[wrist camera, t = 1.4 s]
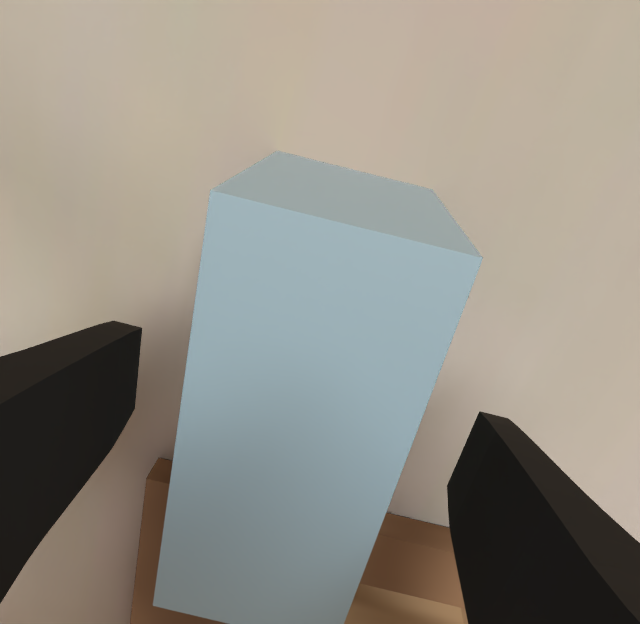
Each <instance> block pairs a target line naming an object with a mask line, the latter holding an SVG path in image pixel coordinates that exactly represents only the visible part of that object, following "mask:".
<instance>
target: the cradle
mask: <svg viewBox="0 0 640 624" xmlns="http://www.w3.org/2000/svg"><path fill="white" fill-rule="evenodd" d="M172 463H173V461H170V460H166V459H162V458H158V460H157V461H156V463H155V465H154V467H153V468H152V470H151V472H150V473H149V475H148V477H147V479H146V487H145V496H144V505H143V514H142V523H141V532H140V540H139V549H138V558H137V567H136V576H135V584H134V593H133V602H132V611H131V620H130V624H228V623H224V622H219V621H215V620H211V619H207V618H203V617H198V616H194V615H190V614H186V613H181V612H177V611H173V610H169V609H165V608H160V607H156V606H153V600H154V593H155V586H156V578H157V571H158V564H159V557H160V550H161V542H162V535H163V528H164V521H165V514H166V506H167V499H168V492H169V485H170V478H171V470H172ZM344 624H468V620H467V615H466V610H465V605H464V600H463V595H462V590H461V585H460V580H459V576H458V571H457V566H456V560H455V555H454V550H453V545H452V540H451V534H450V528H448V527H443V526H439V525H435V524H431V523H427V522H423V521H419V520H414V519H410V518H406V517H402V516H398V515H394V514H390V513H386V514H385V517H384V520H383V522H382V525H381V527H380V530H379V533H378V535H377V538H376V541H375V543H374V546H373V549H372V551H371V554H370V556H369V559H368V562H367V564H366V567H365V570H364V572H363V575H362V578H361V580H360V583H359V585H358V588H357V591H356V593H355V596H354V599H353V601H352V604H351V606H350V609H349V612H348V614H347V617H346V620H345V622H344Z"/></svg>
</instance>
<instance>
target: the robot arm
mask: <svg viewBox="0 0 640 624" xmlns="http://www.w3.org/2000/svg"><path fill="white" fill-rule="evenodd" d="M141 334H142V328H141V327H136V326H132V325H128V324H124V323H120V322H116V321H111V322H106V323H103V324H99V325H96V326H93V327H90V328H87V329H84V330H81V331H78V332H75V333H72V334H69V335H66V336H63V337H60V338H57V339H54V340H51V341H48V342H45V343H42V344H39V345H37V346H34V347H31V348H28V349H25V350H21V351H18V352H15V353H11V354H8V355H5V356H1V357H0V603H1V602H2V600H3V598H4V597H5V595H6V594H7V592H8V590H9V589H10V587H11V586H12V584H13V582H14V581H15V579H16V578H17V576H18V575H19V573H20V571H21V570H22V568H23V567H24V565H25V563H26V562H27V560H28V559H29V557H30V556H31V555H32V553H33V552H34V550H35V549H36V548H37V546H38V545H39V543H40V542H41V541H42V539H43V538H44V536H45V535H46V534H47V533H48V531H49V530H50V529H51V527H52V526H53V525H54V524H55V522H56V521H57V520H58V518H59V517H60V516H61V514H62V513H63V512H64V511H65V509H66V508H67V507H68V505H69V504H70V503H71V501H72V500H73V499H74V498H75V496H76V495H77V494H78V492H79V491H80V490H81V489H82V487H83V486H84V485H85V483H86V482H87V481H88V479H89V478H90V477H91V475H92V474H93V473H94V472H95V470H96V469H97V468H98V466H99V465H100V464H101V462H102V461H103V460H104V458H105V457H106V456H107V454H108V453H109V452H110V450H111V449H112V447H113V446H114V444H115V442H116V441H117V439H118V437H119V436H120V434H121V432H122V430H123V429H124V427H125V425H126V423H127V421H128V420H129V418H130V416H131V414H132V412H133V411H134V409H135V399H136V388H137V378H138V367H139V356H140V345H141ZM447 491H448V512H449V525H450V534H451V540H452V545H453V550H454V555H455V560H456V566H457V571H458V576H459V580H460V585H461V590H462V595H463V600H464V605H465V610H466V615H467V620H468V624H640V543H639V542H638V541H637V540H635V539H634V538H633V537H632V536H631V535H630V534H629V533H628V532H626V531H625V530H624V529H623V528H622V527H621V526H620V525H619V524H618V523H616V522H615V521H614V520H613V519H612V518H611V517H610V516H609V515H608V514H607V513H605V512H604V511H603V510H602V509H601V508H600V507H599V506H598V505H597V504H596V503H595V502H594V501H593V500H592V499H591V498H590V497H589V496H587V495H586V494H585V493H584V492H583V491H582V490H581V489H580V488H579V487H578V486H577V485H576V484H575V483H574V482H573V481H572V480H571V479H570V478H569V477H568V476H567V475H566V474H565V473H564V472H563V471H562V470H561V469H560V468H559V467H558V466H557V465H556V464H555V463H554V462H553V461H552V460H551V459H550V458H549V457H548V456H547V455H546V454H545V453H544V452H543V451H542V450H541V449H540V448H539V447H538V446H537V445H536V444H535V443H534V442H533V441H532V440H531V439H530V438H529V437H528V436H527V435H526V434H525V433H524V432H523V431H522V430H521V429H520V428H519V427H518V426H516V425H515V424H514V423H513V422H512V421H511V420H509V419H508V418H504V417H500V416H496V415H492V414H488V413H484V412H479V414H478V416H477V419H476V421H475V423H474V425H473V428H472V430H471V432H470V435H469V437H468V439H467V441H466V444H465V446H464V448H463V451H462V453H461V455H460V457H459V460H458V462H457V464H456V467H455V469H454V471H453V474H452V476H451V478H450V480H449V483H448V485H447Z"/></svg>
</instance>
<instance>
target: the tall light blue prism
mask: <svg viewBox="0 0 640 624" xmlns="http://www.w3.org/2000/svg"><path fill="white" fill-rule="evenodd" d="M482 259H483V257H482V256H481V255H480V253H479V252H478V251H477V249H476V248H475V247H474V245H473V244H472V243H471V241H470V240H469V238H468V237H467V236H466V234H465V233H464V232H463V230H462V229H461V228H460V226H459V225H458V224H457V222H456V221H455V220H454V218H453V217H452V215H451V214H450V213H449V211H448V210H447V209H446V207H445V206H444V205H443V203H442V202H441V201H440V199H439V198H438V197H437V195H436V194H435V192H434V191H433V190H432V189H428V188H424V187H420V186H416V185H412V184H408V183H404V182H400V181H396V180H392V179H388V178H384V177H380V176H376V175H372V174H368V173H364V172H360V171H356V170H352V169H348V168H344V167H340V166H336V165H332V164H328V163H324V162H320V161H316V160H312V159H308V158H304V157H300V156H297V155H293V154H289V153H285V152H281V151H276V152H274V153H273V154H271V155H269V156H268V157H266V158H264V159H263V160H261V161H259V162H257V163H256V164H254V165H252V166H251V167H249V168H247V169H246V170H244V171H242V172H240V173H239V174H237V175H235V176H234V177H232V178H230V179H229V180H227V181H225V182H223V183H222V184H220V185H218V186H217V187H215V188H213V189H212V190H210V197H209V204H208V211H207V218H206V226H205V233H204V240H203V247H202V254H201V262H200V269H199V276H198V283H197V290H196V298H195V305H194V312H193V319H192V326H191V334H190V341H189V348H188V355H187V362H186V370H185V377H184V384H183V391H182V398H181V406H180V413H179V420H178V427H177V434H176V442H175V449H174V456H173V463H172V470H171V478H170V485H169V492H168V499H167V506H166V514H165V521H164V528H163V535H162V542H161V550H160V557H159V564H158V571H157V578H156V586H155V593H154V600H153V606H156V607H160V608H165V609H169V610H173V611H177V612H181V613H186V614H190V615H194V616H198V617H203V618H207V619H211V620H215V621H219V622H224V623H228V624H344V622H345V620H346V617H347V614H348V612H349V609H350V606H351V604H352V601H353V599H354V596H355V593H356V591H357V588H358V585H359V583H360V580H361V578H362V575H363V572H364V570H365V567H366V564H367V562H368V559H369V556H370V554H371V551H372V549H373V546H374V543H375V541H376V538H377V535H378V533H379V530H380V527H381V525H382V522H383V520H384V517H385V514H386V512H387V509H388V506H389V504H390V501H391V499H392V496H393V493H394V491H395V488H396V485H397V483H398V480H399V477H400V475H401V472H402V470H403V467H404V464H405V462H406V459H407V456H408V454H409V451H410V449H411V446H412V443H413V441H414V438H415V435H416V433H417V430H418V427H419V425H420V422H421V420H422V417H423V414H424V412H425V409H426V406H427V404H428V401H429V398H430V396H431V393H432V391H433V388H434V385H435V383H436V380H437V377H438V375H439V372H440V370H441V367H442V364H443V362H444V359H445V356H446V354H447V351H448V348H449V346H450V343H451V341H452V338H453V335H454V333H455V330H456V327H457V325H458V322H459V319H460V317H461V314H462V312H463V309H464V306H465V304H466V301H467V298H468V296H469V293H470V291H471V288H472V285H473V283H474V280H475V277H476V275H477V272H478V269H479V267H480V264H481V262H482Z"/></svg>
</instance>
